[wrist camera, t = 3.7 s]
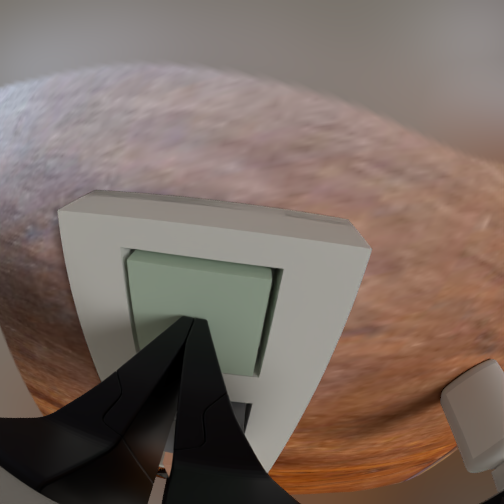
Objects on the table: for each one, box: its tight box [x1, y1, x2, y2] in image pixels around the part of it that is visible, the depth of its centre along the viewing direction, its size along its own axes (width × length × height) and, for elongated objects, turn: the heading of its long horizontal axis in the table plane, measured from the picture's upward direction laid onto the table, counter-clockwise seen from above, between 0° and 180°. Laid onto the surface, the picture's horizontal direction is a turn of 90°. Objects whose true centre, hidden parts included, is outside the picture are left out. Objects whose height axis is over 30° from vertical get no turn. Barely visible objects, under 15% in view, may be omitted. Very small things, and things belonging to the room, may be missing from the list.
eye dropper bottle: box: [440, 359, 504, 492], centre depth 10 cm, size 4×6×12 cm
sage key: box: [127, 249, 272, 376], centre depth 10 cm, size 4×4×2 cm
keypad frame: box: [57, 190, 372, 473], centre depth 13 cm, size 21×10×3 cm, turn 173°
